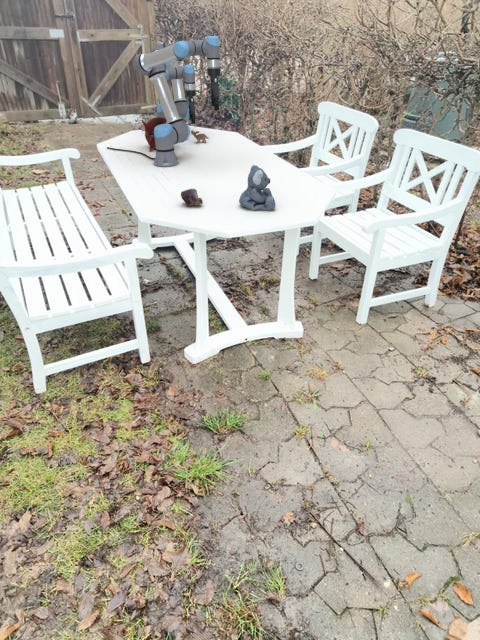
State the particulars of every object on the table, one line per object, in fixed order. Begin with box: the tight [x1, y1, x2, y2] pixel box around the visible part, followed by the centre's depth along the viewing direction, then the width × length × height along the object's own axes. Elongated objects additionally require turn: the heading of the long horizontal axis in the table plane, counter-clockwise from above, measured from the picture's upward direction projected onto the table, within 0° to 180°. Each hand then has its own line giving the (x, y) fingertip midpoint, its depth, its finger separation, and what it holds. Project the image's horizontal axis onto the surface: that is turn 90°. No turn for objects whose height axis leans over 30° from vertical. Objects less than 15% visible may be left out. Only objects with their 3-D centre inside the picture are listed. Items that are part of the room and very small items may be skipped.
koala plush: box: [238, 164, 276, 211], centre depth 224 cm, size 17×18×20 cm
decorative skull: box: [141, 116, 167, 152], centre depth 324 cm, size 21×24×25 cm
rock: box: [180, 188, 204, 207], centre depth 229 cm, size 12×9×10 cm
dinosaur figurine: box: [190, 130, 209, 145], centre depth 339 cm, size 14×6×9 cm, turn 99°
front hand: (215, 108), depth 269 cm, fingers open, 13 cm apart
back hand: (192, 121), depth 333 cm, fingers open, 13 cm apart
